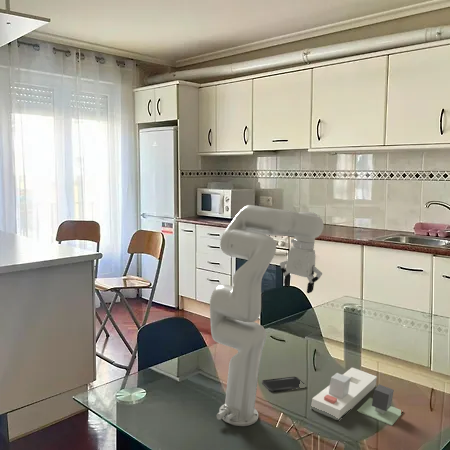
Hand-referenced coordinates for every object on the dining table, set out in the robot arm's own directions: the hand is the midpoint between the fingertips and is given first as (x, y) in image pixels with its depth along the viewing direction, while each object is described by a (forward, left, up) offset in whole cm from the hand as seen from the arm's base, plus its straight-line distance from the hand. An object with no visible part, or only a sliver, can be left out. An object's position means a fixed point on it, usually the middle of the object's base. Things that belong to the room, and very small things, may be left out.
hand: (297, 289), depth 190 cm
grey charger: (-9, -25, -31) cm, 41 cm away
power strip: (-2, -25, -33) cm, 42 cm away
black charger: (-2, -38, -33) cm, 50 cm away
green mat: (-2, -38, -33) cm, 50 cm away
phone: (-11, -5, -34) cm, 36 cm away
